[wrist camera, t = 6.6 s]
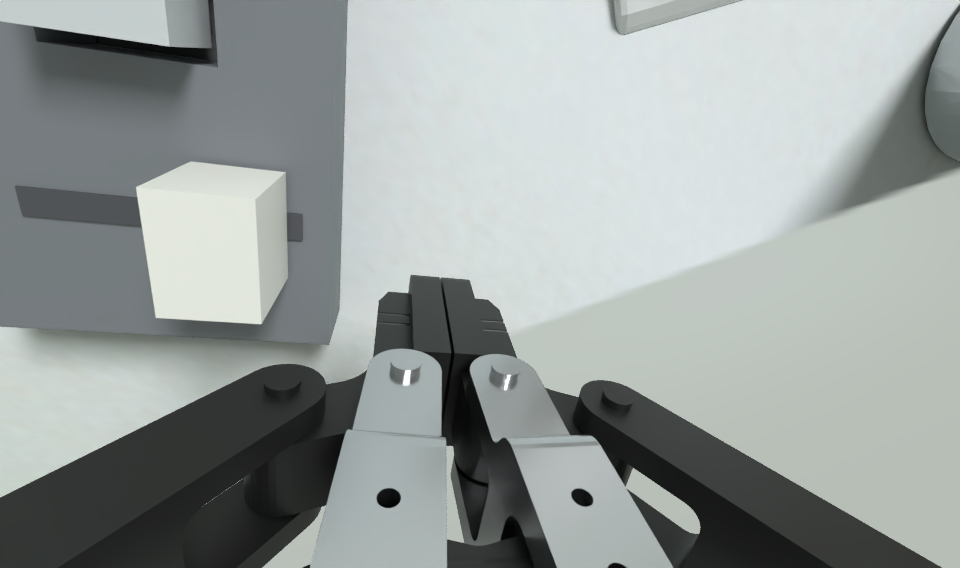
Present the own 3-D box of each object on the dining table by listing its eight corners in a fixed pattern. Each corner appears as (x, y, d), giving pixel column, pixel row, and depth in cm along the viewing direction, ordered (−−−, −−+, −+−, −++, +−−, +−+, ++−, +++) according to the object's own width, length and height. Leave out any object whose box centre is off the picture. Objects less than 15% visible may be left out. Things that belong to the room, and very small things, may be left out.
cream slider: (285, 172, 16) (254, 199, 13) (288, 277, 18) (261, 324, 15) (191, 161, 16) (136, 187, 13) (202, 271, 18) (155, 317, 14)
